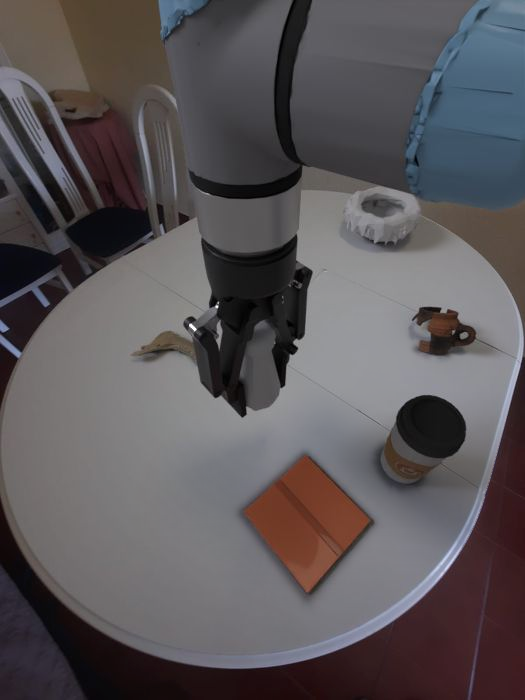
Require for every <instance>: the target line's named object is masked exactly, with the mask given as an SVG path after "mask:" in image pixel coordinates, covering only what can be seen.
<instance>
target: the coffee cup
mask: <svg viewBox="0 0 525 700" xmlns="http://www.w3.org/2000/svg"><path fill="white" fill-rule="evenodd" d="M466 436H467V424H466V420H465V418H464V416H463V414H462V413H461V411H460V410H459V409H458V408H457V407H456V406H455V405H454V404H453V403H451V402H450V401H448V400H446V399H445V398H443V397H440V396H437V395H433V394H422V395H417V396H415V397H413V398H409V400H407V401H405V402H404V404H402V405H401V407H400V408H399V410H398V411H397V414H396V417H395V422H394V424H393V426H392V427H391V429H390V432H389V434H388V436H387V439H386V441H385V444H384V447H383V450H382V452H381V454H380V455H381V456H380V463H381V467H382V469H383V471H384V473H385V474H386V475H387V476H388V477H389V478H390V479H391V480H393V481H395V482H397V483H401V484H405V485H406V484H413V483H416V482H417V481H419V480H420V479H421V478H423V477H425V476H426V475H428V474H429V473H430V472H431V471H433V470H434V469H435V468H436V467H438V466H439V465H441V464H442V463H443V461H444V460H446V459H448V458H449V457H453V456H454V455H455V454H456V453H458V452H459V451H460V449H461V447H462V446H463V445H464V443H465V441H466Z"/></svg>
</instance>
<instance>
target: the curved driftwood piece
mask: <svg viewBox="0 0 525 700" xmlns="http://www.w3.org/2000/svg"><path fill="white" fill-rule="evenodd" d="M169 349H173V350H174V351H176V352H179V353H182V354H185V355H186V356H189V357H190V358H192V359H191V360H192V361H194V363H196V364H197V361H196V355H195V350H194V344H193V341H191V340H189V339H187V338H186V337H182V336H180V335H177V334H176V332H174V331H172V330H165V331H163V332H160V333H159V334H158V335H157V336H156V337H155V338H154V339H153V340H152V341H151V342H150V343H149V344H146V345H141V346H140V350H137V351H133V352H132V353H130V356H131V357H139V356H143V355H146V354H149V353H151V352H155V351H160V350H161V351H162V350H169Z"/></svg>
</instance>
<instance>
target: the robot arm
mask: <svg viewBox="0 0 525 700" xmlns="http://www.w3.org/2000/svg"><path fill="white" fill-rule="evenodd" d="M157 1H158V9H159V18H160V26H161V29H160V31H159V32H160V38H161V42H162V45H163V46H164V48H165V53H166V57H167V62H168V67H169V70H170V71H169V72H170V77H171V83H172V88H173V94H174V99H175V105H176V111H177V115H178V120H179V125H180V126H179V127H180V131H181V136H182V141H183V148H184V152H185V158H186V159H185V160H186V164H187V170H188V176H189V182H190V185H191V186H190V187H191V191H192V199H193V204H194V209H195V216H196V221H197V226H198V232H199V234H200V236H201V238H200V245H201V250H202V256H203V262H204V268H205V273H206V278H207V281H208V283H209V287H210V290H211V292H210V298H209V301H208V309H207V310H206V311H205V312H204V313H203V314H202V315H201V316H199V317H198V318H197V319H196V317H194V316H191V315H190V316H188V317H186V318H185V319H184V320H183V323H182V326H183V328H184V329H185V330H186V331H187V332H188V334H189V335H190V336H191V338H192V342H193V344H194V350H195V355H196V361H197V363H196V366H197V371H198V375H199V382H200V385H202V386H203V387H204V388H205V389H206V391H208V392H209V394H210V395H211V396H212V397H213V398H214V399H218V398H220V397H222V399H223V400H224V401H225V402H226V403H227V404H228V405H229V406H230V407H231V408H232V409H233V410H234V411H235V412H236V414H237V415H239V416H240V417H241V419H243V418H245V417H246V416H247V415H248V412H247V411H248V410H247V407H246V401H245V391H244V385H243V384H242V383H241V382H240V381H239V376H240V372H241V367H242V363H243V358H244V354H245V349H246V345H247V342H248V341H251V340H252V336H253V332H254V328H255V326H256V325H257V324H258V323H259V322H260V321H263V320H266V321H267V322H268V323H270V324H271V325H272V327H273V329H274V331H275V335H276V336H275V343H274V347H273V348H272V350H271V351H272V355H273V358H274V362H275V366H276V370H277V374H278V378H279V382H280V389H283V388H284V387H285V386H286V384H287V383H286V381H287V365H288V364H289V362H290V360H291V358H290V357H291V356H294V355H296V353H297V352H298V350H299V346H297V345H296V344H295V343H294V342H295V341H296V340H297V341H301V340H302V339H303V338H304V337H305V335H306V325H307V324H306V321H307V305H308V291H309V286H310V282H311V280H312V277H313V274H314V271H313V270H312V269H311V268H310V267H308V266H306V265H304V264H303V263H301V262H299V260H297V254H298V253H297V252H298V241H299V239H298V231H299V230H300V215H301V198H302V197H301V196H302V184H303V183H302V182H303V167H307V168H315V169H319V170H323V171H327V172H330V173H333V174H337V175H339V176H340V175H341V176H345V177H348V178H351V179H355V180H359V181H362V182H365V183H370V184H374V185H376V186H381V187H386V188H390V189H395V190H398V191H402V192H406V193H409V194H413V196H414V197H415V198H418V199H419V200H421V201H424V202H432V203H435V204H436V203H442V202H443V203H449V204H455V205H461V206H465V207H471V208H478V209H483V210H488V211H502V210H507V209H511V208H513V207H515V206H517V205H518V204H520V203H521V202H523V201H524V200H525V0H157ZM218 323H219V325H220V328H221V331H222V332H221V336H220V334H219V333H218V327H217V326H218ZM219 337H220V343H219V342H217V340H218V339H219ZM218 343H219V344H220V345H219V344H218Z"/></svg>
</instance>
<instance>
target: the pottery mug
mask: <svg viewBox="0 0 525 700" xmlns="http://www.w3.org/2000/svg"><path fill="white" fill-rule="evenodd" d="M442 310H443V308H442V307H440V306H421V307H419V308H418V312H417V313H416V314H415V315H413V317H412V319H411V321H412V322H414V321H415V320H416V325H417V326H419V327H421V326H422V325H423V323H426V322H427V321H429V323H428V324H427V326H426V328H427V331H428V332H429V333H430V340H423V339H420V340H419V341H418V350H419V351H421V352H424V353H429V354H434V355H446V354H448V353H449V351H450V350H451V348H453V349H454V348H457V347H466V346H469V345H471V344H473V343H474V342H475V340H477V337H476V335H477V331H476V330H475V328H474V327H473V326H471V325H467V324H463V323H462V322H461V321H460V319H459V318H458V317H459V315H460V313H459V312H458V311H456V310H454V309H451V308H447V309H446V312H441V311H442ZM463 333H467V337H465V338H461V334H463Z"/></svg>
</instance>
